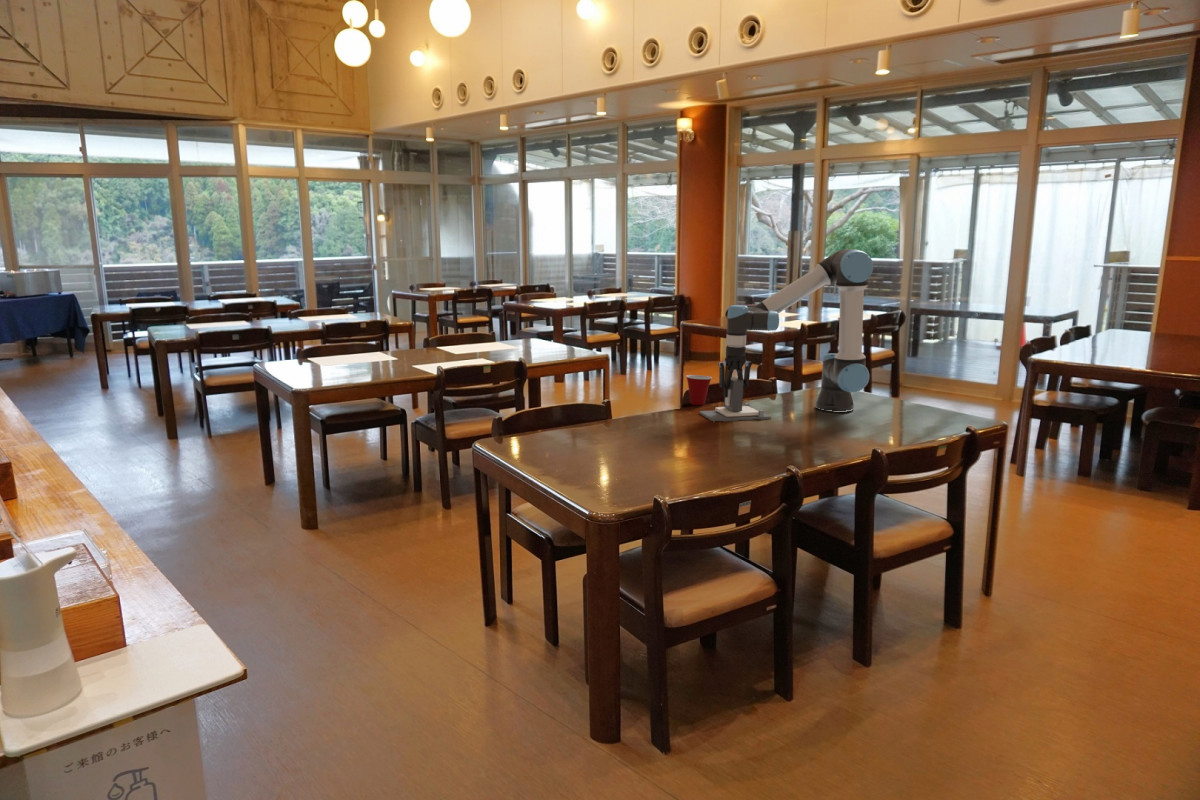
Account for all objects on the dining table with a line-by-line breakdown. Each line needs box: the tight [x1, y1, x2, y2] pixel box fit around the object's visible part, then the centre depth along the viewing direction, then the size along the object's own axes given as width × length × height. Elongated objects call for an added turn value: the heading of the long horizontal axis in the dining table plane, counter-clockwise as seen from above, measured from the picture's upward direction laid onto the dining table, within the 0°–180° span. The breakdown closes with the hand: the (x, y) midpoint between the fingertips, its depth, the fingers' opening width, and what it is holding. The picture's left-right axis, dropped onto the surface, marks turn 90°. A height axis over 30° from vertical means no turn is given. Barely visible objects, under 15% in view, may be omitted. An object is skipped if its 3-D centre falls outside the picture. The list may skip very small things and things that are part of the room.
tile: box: [714, 405, 759, 417], centre depth 307 cm, size 2×11×14 cm
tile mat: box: [699, 402, 772, 423], centre depth 307 cm, size 24×14×4 cm, turn 105°
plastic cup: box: [685, 374, 713, 406], centre depth 327 cm, size 11×11×12 cm
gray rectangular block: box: [723, 376, 744, 412], centre depth 305 cm, size 4×8×12 cm, turn 14°
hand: (733, 404), depth 306 cm, fingers closed on gray rectangular block, 4 cm apart
